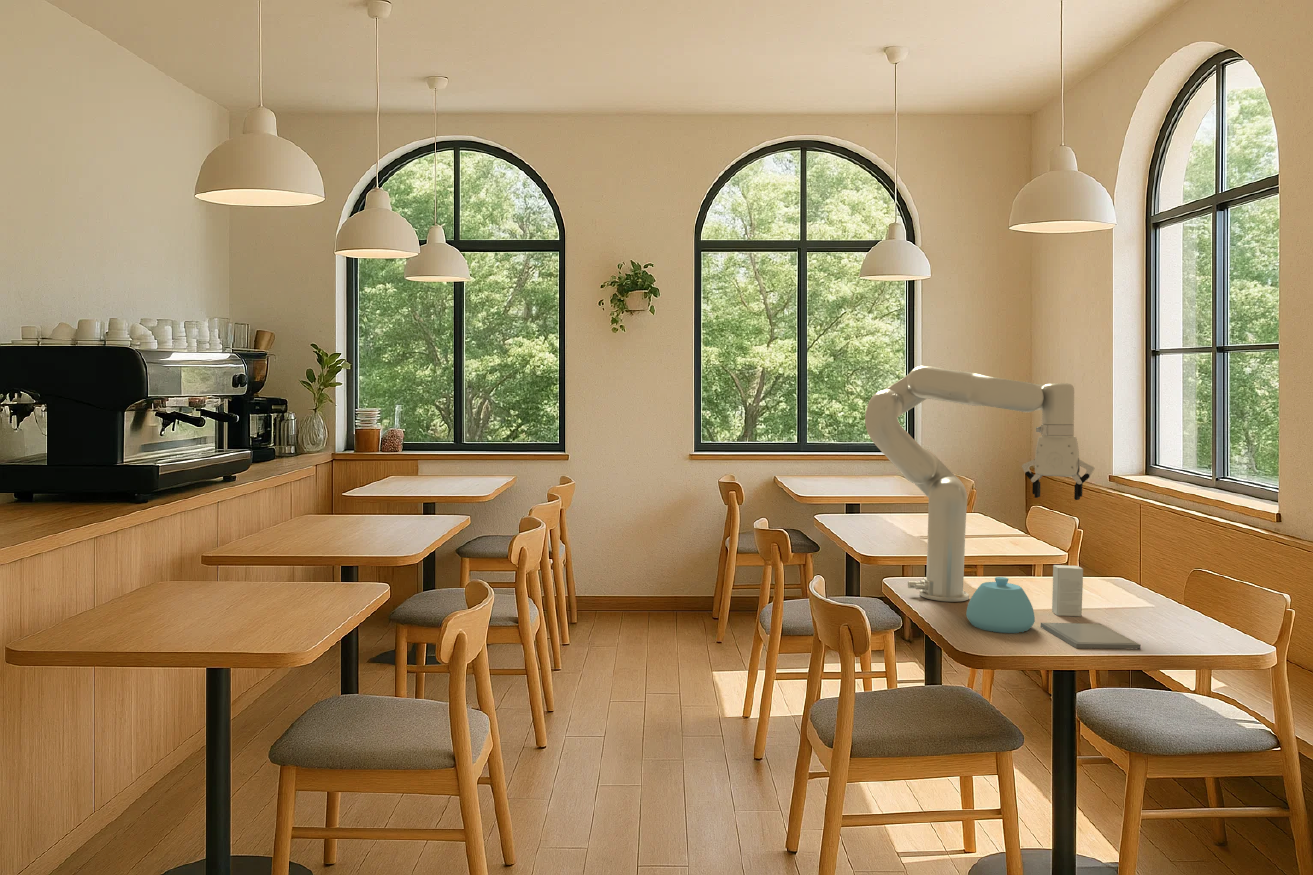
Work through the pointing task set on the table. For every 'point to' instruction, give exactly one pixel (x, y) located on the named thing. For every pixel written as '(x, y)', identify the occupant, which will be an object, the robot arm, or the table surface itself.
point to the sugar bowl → (1000, 607)
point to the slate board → (1089, 635)
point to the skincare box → (1067, 590)
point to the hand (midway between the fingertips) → (1057, 498)
